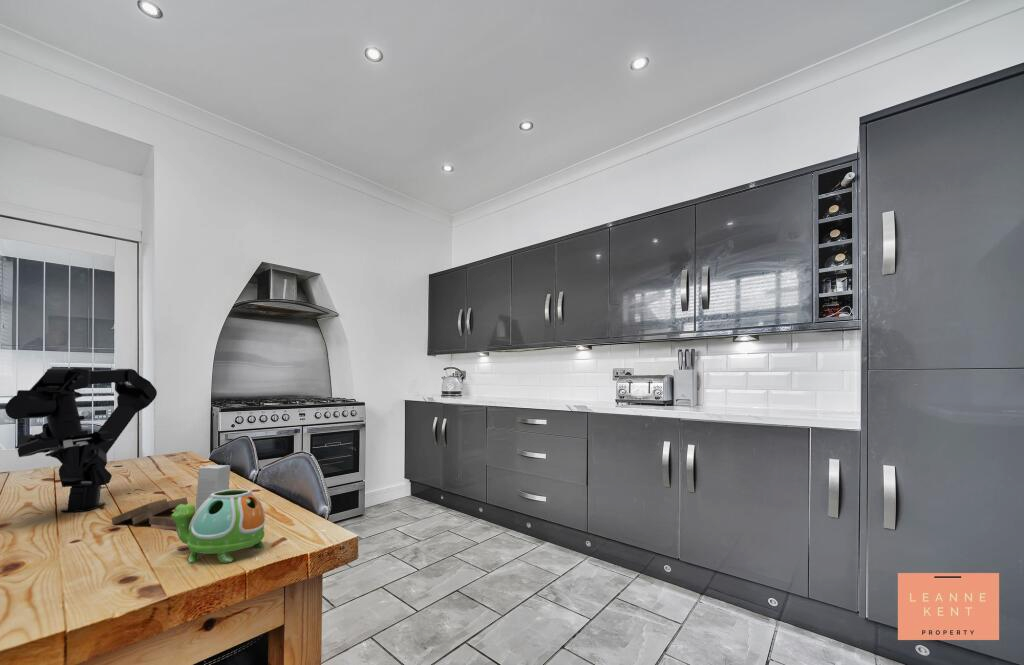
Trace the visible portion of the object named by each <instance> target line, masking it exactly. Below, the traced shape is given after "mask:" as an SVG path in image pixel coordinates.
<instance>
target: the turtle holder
mask: <svg viewBox="0 0 1024 665" xmlns="http://www.w3.org/2000/svg"><path fill="white" fill-rule="evenodd" d="M247 499H249V501H247ZM173 511H174V513H173V514H172V519H173V520H174V521H175V523H176V526H177V530H176V533H177V536H178V539H179V540H180V541H181V542H182V543H184V544H186V545H187V548H188V549H189V550H190V554H189V556H188V558H187V562H188V563H189V564H191V563H192V564H194V563H196V562H197V561H198V557H199V554H205V555H206V554H209V555H210V554H212V555H213V554H217V558H218V561H219V562H220V563H225V564H226V563H227V564H228V563H232V562H233V561H234V558H233V557H232V556H231V555H230V554H229V553H230V552H235V551H240V550H243V549H247V548H251V547H253V548H256V549H257V548H263V547H265V543H264V542H263V541H262V540H263V539H264V537H265V531H264V528H265V524H266V512H265V509H264V506H263V504H262V502H261V500H260V499H259V498H258V497H257V496H256V494H254V493H253V492H252V490H251V489H243V488H242V489H241V488H240V489H239V488H238V489H236V488H235V489H229V490H223V491H219V492H215V493H212V494H211V495H210V497H209V498H208V499H207V500H206V501H205V502H204V503H203V504H202V505H201V506H200V507H199V509H198V510H197V512H195V511H196V504H193V503H190V504H189V503H188V504H186V505H184V504H180V505H178V506H177V507H176V508H175V510H173Z"/></svg>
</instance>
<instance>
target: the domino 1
mask: <svg viewBox="0 0 1024 665" xmlns="http://www.w3.org/2000/svg"><path fill="white" fill-rule="evenodd" d="M166 502H168V499H167V498H163V499H160V500H156V501H153V502H150V503H147V504H144V505H141V506H138V507H136V508H134V509H131V510H129V511H126V512H124V513H121V514H118V515H115V516H113V517H111V522H112V525H117V524H119V523H124V522H126V521H131V520H132V518H133V517H135V516H138V515H140V514H142V513H144V512H146V511H148V510H151V509H153V508H155V507H157V506H159V505H161V504H164V503H166Z"/></svg>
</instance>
